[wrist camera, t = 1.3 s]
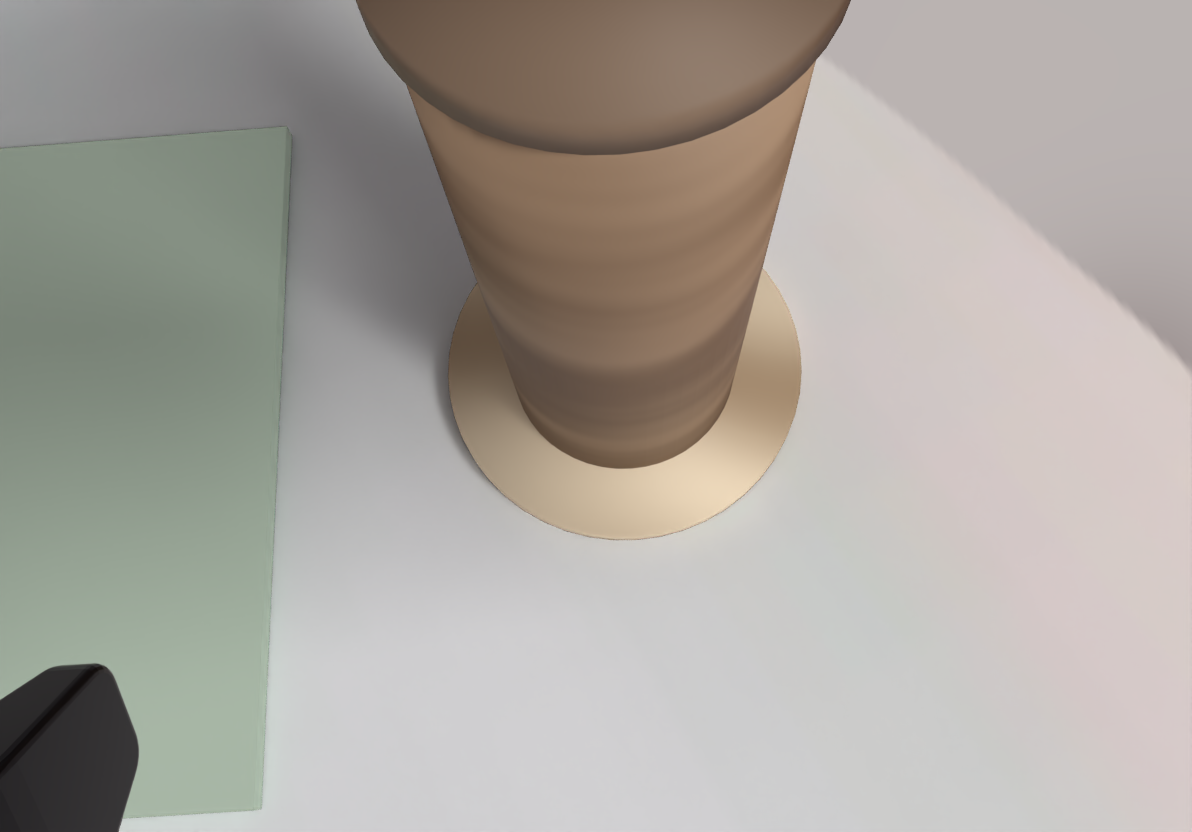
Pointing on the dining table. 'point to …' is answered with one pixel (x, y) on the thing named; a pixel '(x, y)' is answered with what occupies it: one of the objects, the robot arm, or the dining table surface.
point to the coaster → (640, 494)
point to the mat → (147, 439)
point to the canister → (612, 191)
